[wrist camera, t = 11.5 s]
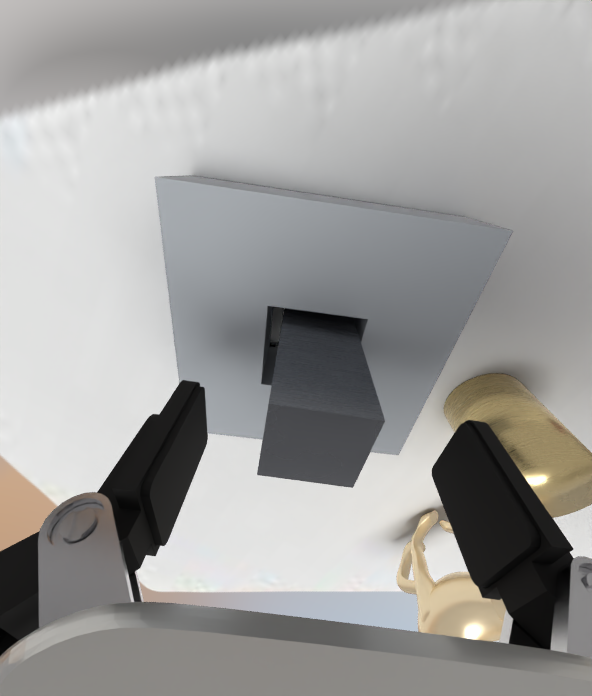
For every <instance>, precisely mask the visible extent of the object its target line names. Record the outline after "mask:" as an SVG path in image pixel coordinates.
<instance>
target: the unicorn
mask: <svg viewBox="0 0 592 696" xmlns="http://www.w3.org/2000/svg"><path fill="white" fill-rule="evenodd" d="M437 521H438V513H437V512H436V511H435V510H434V511H432V512H429V513H426V514H424V515H423V516H422V517H421V518H420V520H419V523H418V526H417V529H416V531H415V532H414V534H413V536H412V538H411V541H410V542H408V543H407V545H406V546H405V548H404V551H403V554H402V559H401V563H400V566H399V569H398V572H397V584H398V586H399V587H400V589H401V590H402V591H404V592H406V593H410V594H416V595H417V601H418V611H419V613H418V630H419V632H422V633H430V634H438V635H445V636H453V637H461V638H468V639H476V640H484V641H491V642H493V641H497V640H500V636H501V631H502V626H503V621H504V616H505V612H506V607H505V605H504V603H503V600H502V599H500V600H495V599H487V598H482V596H481V593H480V591H479V588H478V586H476V585H475V584H474V583H473V581H472V579H471V577H470V574H469V572H455V573H451V574H448V575H446V576H444V577H442V578H440V579H439V580H437V581H436V582H434V581H433V579H432V578H431V576H430V574H429V572H428V568H427V563H426V560H425V556H424V554H423V552H424V551H425V545H424V543H423V540H424V538H425V536H426V534H427V533H428V531H429V530H430V529H431V527H432V526H433V525H434V524H436V523H437ZM439 524H440V526H441V527H442V528H443V529H444V530H445V531H446V532H449V533H453V534H454V532H453V530H452V527H451V525H450V522H448V521H445V520H441V521H440V522H439ZM411 564H412V567H413V575H414V581H412V580H408V577H409V573H410V568H411Z"/></svg>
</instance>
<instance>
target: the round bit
mask: <svg viewBox="0 0 592 696" xmlns="http://www.w3.org/2000/svg"><path fill="white" fill-rule="evenodd" d="M444 414H445V416H446V418H447V420H448V422H449V423H450V425H451V427H452V429H453V431H454V432H456V430H457V428H458V427H459V425H460V424H462V423H464V422H465V421H467V420H473V421H480V422H485V423H487V424H488V425H489V426H490V428H491V429H492V430H493V432H494V433H495V435H496V436H497V438H498V439H499V441H500V442H501V444H502V445H503V447H504V448H505V450H506V451H507V452H508V454H509V455H510V457H511V458H512V460H513V461H514V463H515V464H516V466H517V467H518V469H519V470H520V471H521V473H522V474H523V476H524V477H525V479H526V480H527V482H528V483H529V485H530V486H531V488H532V489H533V491H534V492H535V493H536V495H537V496H538V498H539V499H540V501H541V502H542V504H543V505H544V507H545V508H546V510H547V511H548V512H549V514H550V515H551V517H552V518H554V517H559V516H563V515H566V514H570V513H573V512H576V511H578V510H580V509H583V508H585V507H587V506H589V505H591V504H592V453H591V452H590V451H589V450H588V449H587V448H586V447H585V446H584V445H583V444H582V443H581V442H580V441H579V440H578V439H577V438H576V437H575V436H574V435H573V434H572V433H571V432H570V431H569V430H568V429H567V428H566V427H565V426H564V425H563V424H562V423H561V422H560V421H559V420H558V419H557V418H556V417H555V416H554V415H553V414H552V413H551V412H550V411H549V410H548V409H547V408H546V407H545V406H544V405H543V404H542V403H541V402H540V401H539V400H538V399H537V398H536V397H535V396H534V395H533V394H532V393H531V392H530V391H529V390H528V389H527V388H526V387H525V386H524V385H523V384H522V383H521V382H520V381H519V380H517V379H516V378H514V377H512V376H510V375H506V374H499V373H493V374H485V375H480V376H477V377H474V378H472V379H469V380H467V381H465V382H464V383H462V384H461V385H459V386H458V387H457V388H455V389H454V390H453V391H452V392H451V393H450V395H449V396H448V398H447V399H446V402H445V405H444Z"/></svg>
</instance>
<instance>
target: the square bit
mask: <svg viewBox="0 0 592 696" xmlns="http://www.w3.org/2000/svg"><path fill="white" fill-rule="evenodd" d="M384 423H385V419H384V415H383V412H382V409H381V406H380V402H379V399H378V396H377V393H376V390H375V386H374V383H373V380H372V377H371V373H370V370H369V367H368V364H367V360H366V357H365V354H364V351H363V348H362V344H361V341H360V338H359V335H358V331H357V328H356V325H355V322H354V318H353V317H348V316H340V315H333V314H325V313H318V312H310V311H303V310H296V309H288V308H285V309H284V315H283V321H282V327H281V333H280V339H279V345H278V351H277V356H276V362H275V368H274V374H273V380H272V386H271V392H270V398H269V404H268V410H267V416H266V423H265V429H264V435H263V441H262V448H261V454H260V460H259V466H258V473H257V475H262V476H270V477H277V478H285V479H292V480H300V481H307V482H314V483H322V484H329V485H337V486H344V487H352V488H353V486H354V484H355V482H356V480H357V478H358V476H359V474H360V472H361V470H362V468H363V466H364V464H365V462H366V460H367V457H368V455H369V453H370V451H371V449H372V447H373V445H374V443H375V441H376V439H377V437H378V435H379V433H380V431H381V429H382V427H383V425H384Z"/></svg>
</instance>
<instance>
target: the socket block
mask: <svg viewBox="0 0 592 696" xmlns="http://www.w3.org/2000/svg"><path fill="white" fill-rule="evenodd" d="M155 183H156V192H157V200H158V208H159V217H160V225H161V233H162V242H163V250H164V258H165V267H166V275H167V283H168V292H169V300H170V308H171V317H172V325H173V333H174V342H175V350H176V358H177V367H178V375H179V383H180V382H181V381H182V380H187V381H194V382H199V383H200V387H204V388H205V400H206V417H207V433H211V434H220V435H228V436H237V437H246V438H254V439H263V435H264V429H265V423H266V416H267V410H268V404H269V398H270V392H271V386H272V380H273V374H274V368H275V362H276V356H277V351H278V348H277V347H269V345H270V334H271V324H272V313H273V307H281V308H288V309H296V310H303V311H310V312H318V313H325V314H333V315H340V316H348V317H353V318H354V322H355V325H356V328H357V331H358V335H359V338H360V341H361V344H362V348H363V351H364V354H365V357H366V360H367V364H368V367H369V370H370V373H371V377H372V380H373V383H374V386H375V390H376V393H377V396H378V399H379V402H380V406H381V409H382V412H383V415H384V419H385V423H384V425H383V427H382V429H381V431H380V433H379V435H378V437H377V439H376V441H375V443H374V445H373V447H372V449H371V451H370V452H375V453H384V454H392V455H399V453H400V451H401V449H402V447H403V445H404V443H405V441H406V439H407V437H408V436H409V434H410V432H411V430H412V428H413V426H414V424H415V422H416V420H417V418H418V416H419V414H420V412H421V410H422V408H423V406H424V404H425V402H426V400H427V398H428V396H429V394H430V393H431V391H432V389H433V387H434V385H435V383H436V381H437V379H438V377H439V375H440V373H441V371H442V369H443V367H444V365H445V363H446V361H447V359H448V357H449V355H450V353H451V351H452V350H453V348H454V346H455V344H456V342H457V340H458V338H459V336H460V334H461V332H462V330H463V328H464V326H465V324H466V322H467V320H468V318H469V316H470V314H471V312H472V310H473V308H474V307H475V305H476V303H477V301H478V299H479V297H480V295H481V293H482V291H483V289H484V287H485V285H486V283H487V281H488V279H489V277H490V275H491V273H492V271H493V269H494V267H495V265H496V264H497V262H498V260H499V258H500V256H501V254H502V252H503V250H504V248H505V246H506V244H507V242H508V240H509V238H510V236H511V234H512V232H513V231H512V230H509V229H505V228H502V227H498V226H495V225H492V224H488V223H485V222H481V221H478V220H474V219H471V218H467V217H463V216H456V215H450V214H443V213H436V212H430V211H423V210H417V209H410V208H403V207H397V206H390V205H384V204H377V203H370V202H364V201H357V200H351V199H344V198H337V197H331V196H324V195H318V194H311V193H304V192H298V191H291V190H284V189H278V188H271V187H265V186H258V185H251V184H245V183H238V182H232V181H225V180H218V179H212V178H205V177H199V176H165V177H155Z"/></svg>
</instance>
